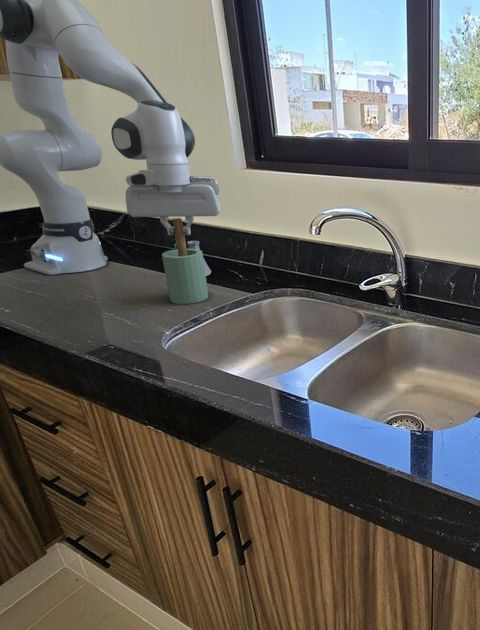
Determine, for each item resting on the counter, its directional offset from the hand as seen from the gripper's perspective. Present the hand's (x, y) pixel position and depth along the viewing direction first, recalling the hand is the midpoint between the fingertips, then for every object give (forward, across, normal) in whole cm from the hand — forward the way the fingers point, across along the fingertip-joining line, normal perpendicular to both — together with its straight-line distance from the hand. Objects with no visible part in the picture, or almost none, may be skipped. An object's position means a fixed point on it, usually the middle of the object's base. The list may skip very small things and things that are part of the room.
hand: (179, 234), depth 116 cm
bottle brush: (+12, 0, 0) cm, 12 cm away
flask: (+17, +2, -21) cm, 27 cm away
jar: (+17, 0, 0) cm, 17 cm away
